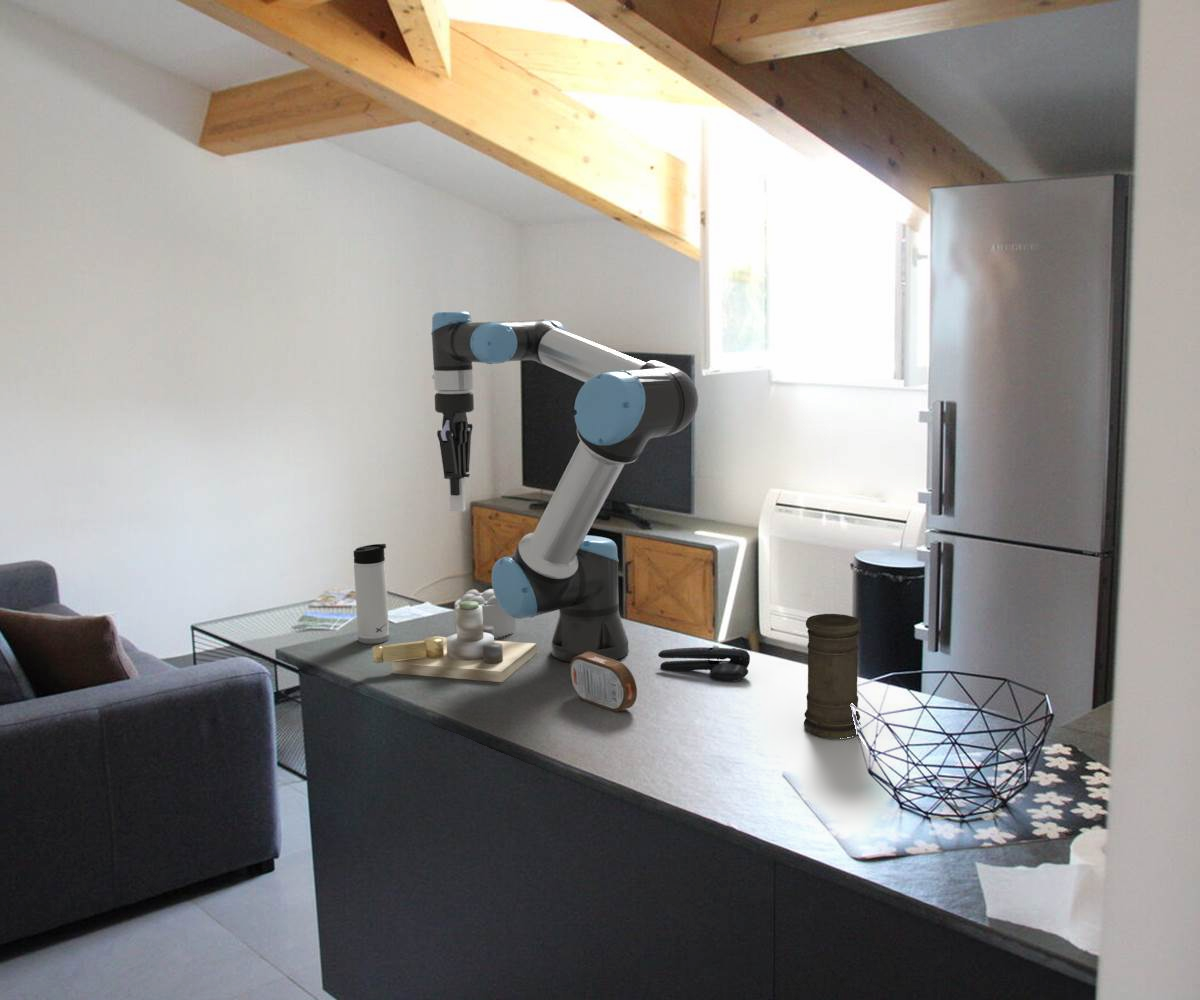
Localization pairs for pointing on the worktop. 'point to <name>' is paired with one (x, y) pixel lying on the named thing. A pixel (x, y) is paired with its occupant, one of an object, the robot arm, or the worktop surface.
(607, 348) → the robot arm
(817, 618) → the container
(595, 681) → the tin
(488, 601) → the paw-shaped mold
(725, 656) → the can opener
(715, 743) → the worktop surface
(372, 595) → the travel mug
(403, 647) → the brass ball lever
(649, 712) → the worktop surface
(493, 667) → the base
